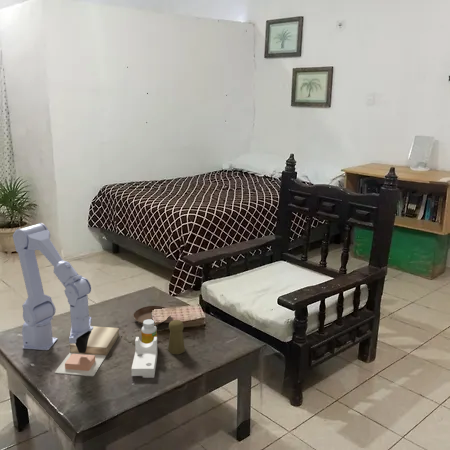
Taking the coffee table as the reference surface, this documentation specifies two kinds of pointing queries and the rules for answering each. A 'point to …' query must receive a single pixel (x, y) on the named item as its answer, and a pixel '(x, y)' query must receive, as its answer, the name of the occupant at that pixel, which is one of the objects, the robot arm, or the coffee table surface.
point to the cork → (176, 337)
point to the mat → (91, 372)
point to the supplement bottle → (148, 331)
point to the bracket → (144, 359)
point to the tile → (80, 362)
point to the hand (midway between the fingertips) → (82, 351)
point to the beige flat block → (99, 341)
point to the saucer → (144, 313)
